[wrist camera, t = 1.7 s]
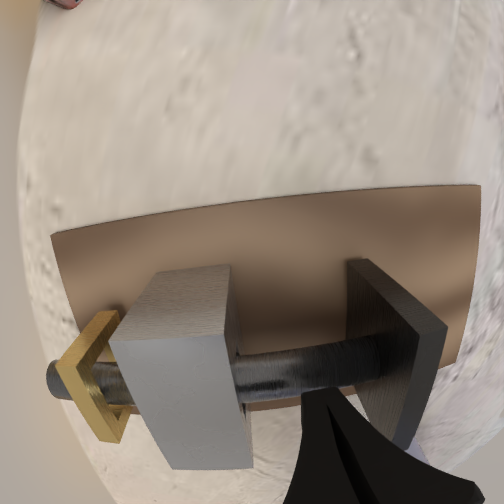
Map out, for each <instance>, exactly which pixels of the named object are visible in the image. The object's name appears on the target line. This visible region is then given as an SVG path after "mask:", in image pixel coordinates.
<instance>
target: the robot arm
mask: <svg viewBox="0 0 504 504" xmlns="http://www.w3.org/2000/svg"><path fill="white" fill-rule="evenodd" d="M301 424H302V439H301V445H300V450H299V455H298V460H297V464H296V467H295V471H294V474H293V478H292V481H291V484H290V486H289V489H288V492H287V495H286V497H285V500H284V502H283V504H483V502H484V501H485V498H484V496H483V494H482V493H481V491H480V489H479V488H478V486H477V485H476V484H475V482H473V481H469V480H466V479H463V478H459V477H456V476H453V475H450V474H448V473H446V472H443V471H441V470H438V469H436V468H434V467H432V466H430V464H429V462H428V460H427V458H426V456H425V455H424V453H423V451H422V449H421V447H420V445H419V444H418V442H417V440H416V438H415V436H414V438H413V440H412V442H411V444H410V447H409V449H408V450H405V451H404V450H402V449H401V448H399V447H398V446H396V445H395V444H394V443H392V442H391V441H390V440H389V439H387V438H386V437H385V436H384V435H382V434H381V433H380V432H379V431H378V430H377V429H376V428H374V427H373V426H372V425H371V424H370V423H369V422H368V421H367V420H366V419H365V418H364V417H363V416H362V415H361V414H360V413H359V412H358V411H357V410H356V409H355V408H354V406H353V405H352V404H351V403H350V402H349V401H348V400H347V398H346V397H345V396H344V395H343V394H342V392H341V391H340V390H339V388H338V387H336V386H334V387H329V388H324V389H318V390H313V391H307V392H303V393H302V394H301Z"/></svg>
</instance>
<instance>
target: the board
mask: <svg viewBox="0 0 504 504" xmlns="http://www.w3.org/2000/svg"><path fill="white" fill-rule="evenodd" d="M480 216H481V186H480V185H438V186H413V187H393V188H377V189H362V190H348V191H336V192H325V193H314V194H303V195H293V196H284V197H275V198H266V199H257V200H249V201H241V202H233V203H225V204H218V205H211V206H203V207H197V208H190V209H183V210H177V211H170V212H164V213H158V214H152V215H146V216H140V217H134V218H128V219H123V220H117V221H112V222H106V223H101V224H96V225H91V226H86V227H81V228H76V229H71V230H66V231H62V232H57V233H54V234H52V235H50V237H51V241H52V245H53V249H54V253H55V257H56V261H57V264H58V268H59V272H60V275H61V278H62V282H63V285H64V288H65V291H66V295H67V298H68V301H69V304H70V306H71V309H72V312H73V315H74V318H75V320H76V323H77V326H78V328H79V331H80V333H81V332H82V331H83V330H84V329H85V327H86V326H87V325H88V324H89V323H90V321H91V320H92V319H93V318H94V317H95V316H96V314H97V313H98V312H99V311H112V310H117V311H118V314H119V317H120V320H121V321H122V320H123V318H124V317H125V316H126V314H127V313H128V311H129V310H130V308H131V307H132V305H133V304H134V303H135V301H136V300H137V298H138V297H139V296H140V294H141V293H142V291H143V290H144V289H145V287H146V286H147V284H148V283H149V282H150V280H151V279H152V278H153V276H154V275H155V273H156V272H160V271H169V270H177V269H185V268H194V267H202V266H210V265H219V264H227V263H230V265H231V271H232V278H233V285H234V291H235V298H236V304H237V310H238V317H239V323H240V329H241V335H242V341H243V347H244V353H245V355H250V354H259V353H267V352H275V351H282V350H289V349H296V348H302V347H309V346H315V345H320V344H326V343H332V342H337V341H342V340H346V319H347V261H352V260H359V259H366V258H368V259H369V260H370V261H372V262H373V263H374V264H375V265H377V266H378V267H379V268H380V269H382V270H383V271H384V272H385V273H387V274H388V275H389V276H390V277H391V278H393V279H394V280H395V281H396V282H397V283H399V284H400V285H401V286H402V287H403V288H405V289H406V290H407V291H408V292H409V293H411V294H412V295H413V296H414V297H415V298H416V299H418V300H419V301H420V302H421V303H422V304H423V305H424V306H426V307H427V308H428V309H429V310H430V311H431V312H432V313H434V314H435V315H436V316H437V317H438V318H439V319H440V320H441V321H443V322H444V323H445V324H446V325H447V326H448V331H447V336H446V340H445V344H444V348H443V352H442V356H441V360H440V363H439V367H438V369H440V368H443V367H445V366H448V365H450V364H453V363H455V362H456V359H457V356H458V352H459V349H460V345H461V341H462V337H463V333H464V329H465V325H466V321H467V316H468V312H469V307H470V302H471V296H472V291H473V285H474V278H475V271H476V264H477V255H478V246H479V234H480ZM96 362H109V360H108V358H107V355H106V353H105V350H103V351H102V353H101V354H100V356H99V358H98V359H97V361H96ZM339 390H340V391H341V392H342V394H343V395H344V396H349V395H353V394H357V393H356V391H355V388H354V386H350V387H345V388H341V389H339ZM297 405H301V396H298V397H291V398H284V399H277V400H269V401H261V402H252V403H250V408H251V411H260V410H269V409H277V408H284V407H291V406H297ZM130 414H140V412H139V410H138V408H137V406H133V408H132V411H131V413H130Z"/></svg>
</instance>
